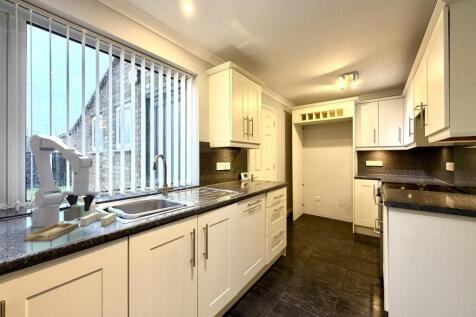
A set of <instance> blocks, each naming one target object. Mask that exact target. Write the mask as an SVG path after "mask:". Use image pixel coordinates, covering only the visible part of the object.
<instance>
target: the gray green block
mask: <svg viewBox="0 0 476 317" xmlns="http://www.w3.org/2000/svg"><path fill="white" fill-rule="evenodd" d="M84 206H85V205H84V202H80V201H79V202H77V204H74V205H72V206H71V207H69V208H68V209H64V210H63V221H64V222H73V221H74V220H77V219H76V218H79V217H81V216H85V215H87V214H89V213H91V205H90V208H89V211H87V212H85V210H84Z"/></svg>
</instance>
